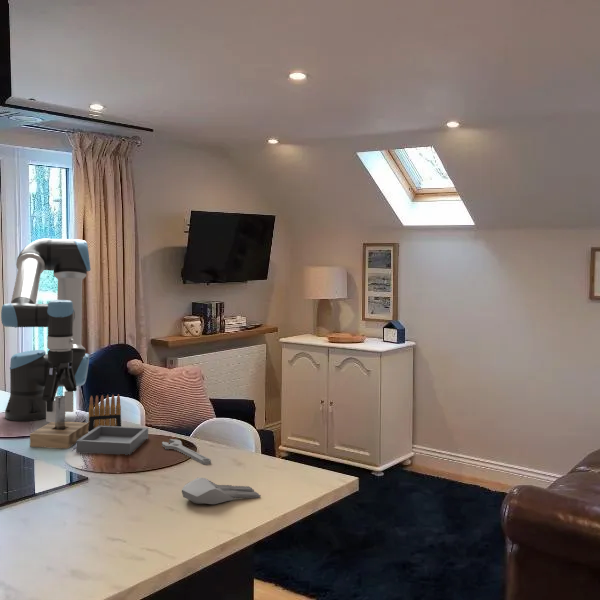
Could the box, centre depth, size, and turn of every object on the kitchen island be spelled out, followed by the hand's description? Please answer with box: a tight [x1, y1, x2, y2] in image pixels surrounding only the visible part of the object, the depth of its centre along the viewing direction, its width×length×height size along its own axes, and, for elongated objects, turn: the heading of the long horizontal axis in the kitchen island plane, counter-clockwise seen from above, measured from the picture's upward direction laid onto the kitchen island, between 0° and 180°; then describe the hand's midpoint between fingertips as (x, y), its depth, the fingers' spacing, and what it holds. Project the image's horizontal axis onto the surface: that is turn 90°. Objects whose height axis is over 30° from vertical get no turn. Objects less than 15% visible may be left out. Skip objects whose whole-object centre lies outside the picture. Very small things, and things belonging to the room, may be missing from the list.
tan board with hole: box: [29, 421, 89, 450], centre depth 223 cm, size 16×12×4 cm
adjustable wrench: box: [161, 438, 212, 466], centre depth 213 cm, size 25×6×2 cm, turn 34°
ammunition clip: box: [87, 393, 122, 432], centre depth 237 cm, size 11×2×12 cm, turn 113°
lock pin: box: [54, 395, 66, 430], centre depth 223 cm, size 3×3×14 cm
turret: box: [181, 477, 261, 505], centre depth 176 cm, size 10×20×5 cm, turn 116°
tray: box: [75, 426, 149, 456], centre depth 220 cm, size 18×16×4 cm
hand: (60, 416), depth 223 cm, fingers open, 13 cm apart
